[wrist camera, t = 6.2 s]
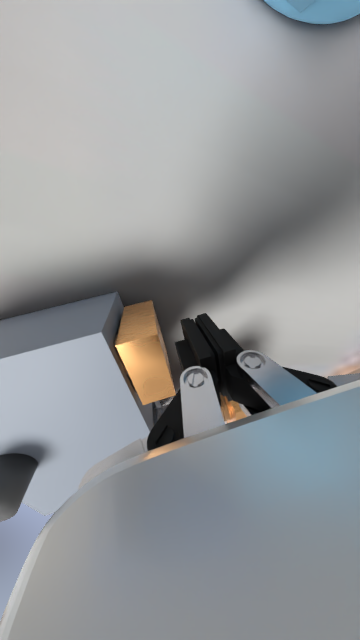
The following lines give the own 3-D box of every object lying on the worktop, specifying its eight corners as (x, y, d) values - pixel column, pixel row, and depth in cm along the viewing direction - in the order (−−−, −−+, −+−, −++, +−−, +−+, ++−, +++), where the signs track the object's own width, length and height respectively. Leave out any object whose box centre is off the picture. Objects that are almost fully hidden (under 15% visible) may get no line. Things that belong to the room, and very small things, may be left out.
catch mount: (117, 291, 13) (89, 361, 6) (161, 406, 20) (173, 505, 13) (-23, 325, 12) (-255, 456, 5) (72, 434, 19) (30, 558, 12)
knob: (151, 299, 12) (157, 334, 8) (165, 348, 14) (176, 395, 10) (-28, 345, 11) (-126, 411, 7) (15, 390, 13) (-42, 461, 9)
